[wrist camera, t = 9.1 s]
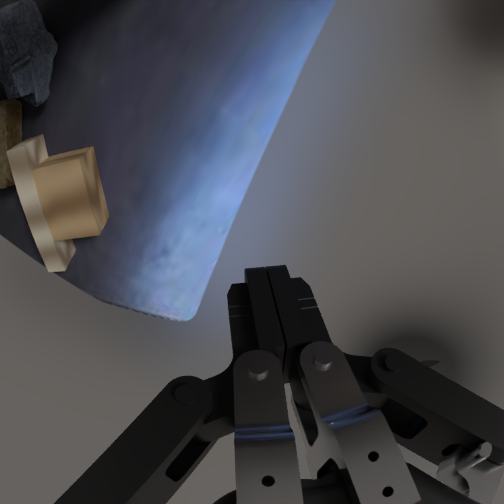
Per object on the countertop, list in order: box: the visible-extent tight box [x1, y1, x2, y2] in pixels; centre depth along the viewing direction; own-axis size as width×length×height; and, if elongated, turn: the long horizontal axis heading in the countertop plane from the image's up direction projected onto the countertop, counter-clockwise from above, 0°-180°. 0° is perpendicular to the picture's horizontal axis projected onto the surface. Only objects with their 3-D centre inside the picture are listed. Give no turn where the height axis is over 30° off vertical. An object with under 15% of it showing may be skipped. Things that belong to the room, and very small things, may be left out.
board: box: [6, 134, 76, 272], centre depth 32 cm, size 18×3×5 cm, turn 1°
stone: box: [0, 0, 58, 107], centre depth 19 cm, size 14×6×10 cm, turn 17°
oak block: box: [31, 146, 109, 241], centre depth 32 cm, size 10×7×5 cm
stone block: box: [0, 99, 23, 189], centre depth 26 cm, size 6×12×5 cm, turn 171°
